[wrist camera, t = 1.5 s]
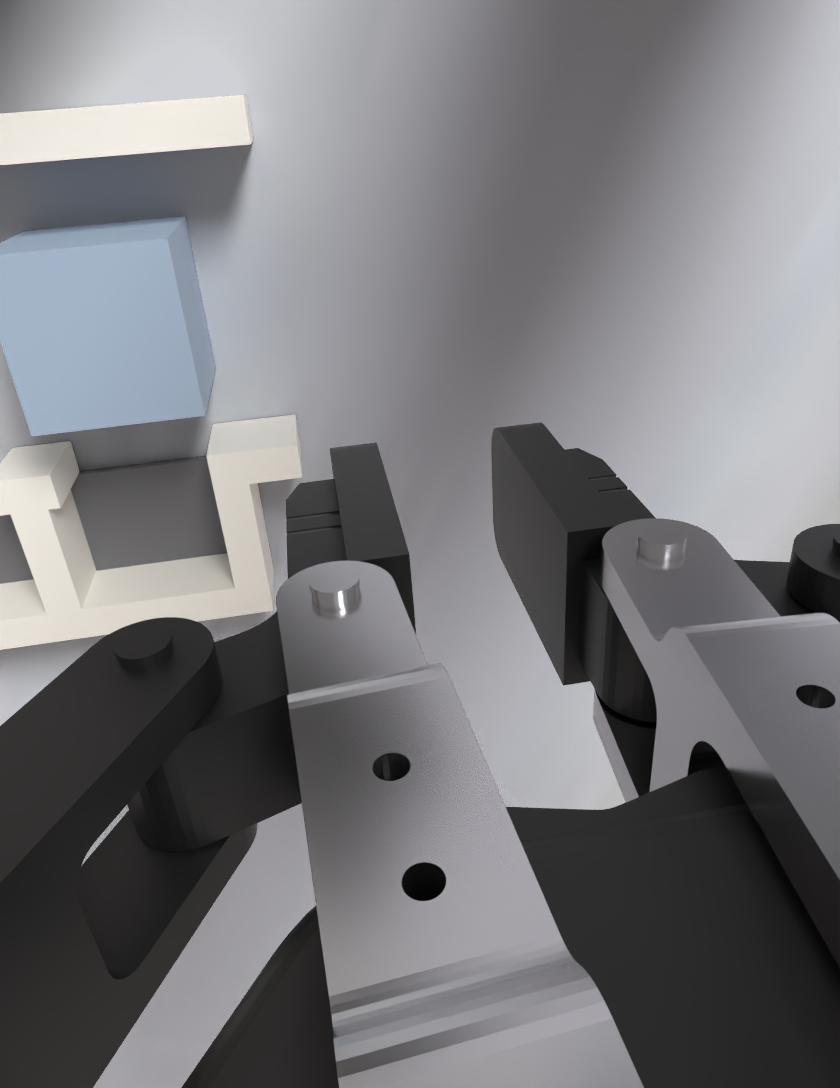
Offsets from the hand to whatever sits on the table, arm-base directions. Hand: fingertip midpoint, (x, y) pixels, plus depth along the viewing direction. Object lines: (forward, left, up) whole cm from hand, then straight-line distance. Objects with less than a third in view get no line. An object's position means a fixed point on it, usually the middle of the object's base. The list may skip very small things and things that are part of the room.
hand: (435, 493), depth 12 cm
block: (+7, 0, -17) cm, 19 cm away
